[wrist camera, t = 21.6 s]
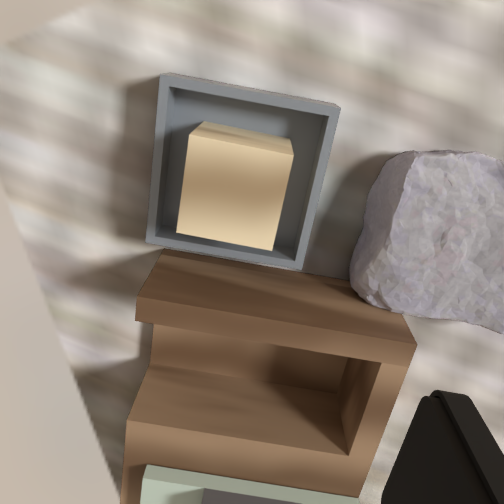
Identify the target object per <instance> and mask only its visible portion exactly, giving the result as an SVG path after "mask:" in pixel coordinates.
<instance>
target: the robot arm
mask: <svg viewBox="0 0 504 504" xmlns="http://www.w3.org/2000/svg"><path fill="white" fill-rule="evenodd" d="M381 504H504V455H503V453H502V451H501V449H500V448H499V446H498V444H497V443H496V441H495V439H494V438H493V436H492V434H491V432H490V431H489V429H488V427H487V426H486V424H485V422H484V421H483V419H482V417H481V415H480V414H479V412H478V410H477V409H476V407H475V405H474V404H473V402H472V400H471V399H470V398H469V397H468V396H466V395H464V394H458V393H452V392H446V391H440V390H435V391H433V392H432V393H431V395H430V396H424V397H423V398H422V399H421V401H420V403H419V405H418V407H417V410H416V412H415V415H414V417H413V420H412V422H411V425H410V427H409V429H408V432H407V434H406V437H405V439H404V442H403V444H402V446H401V449H400V451H399V454H398V456H397V459H396V461H395V463H394V466H393V468H392V471H391V473H390V476H389V478H388V480H387V483H386V485H385V488H384V490H383V493H382V498H381Z"/></svg>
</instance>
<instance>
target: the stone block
mask: <svg viewBox="0 0 504 504" xmlns="http://www.w3.org/2000/svg"><path fill="white" fill-rule="evenodd" d="M363 221H364V227H363V229H362V232H361V235H360V237H359V238H358V242H357V243H356V246H355V249H354V252H353V255H352V259H351V263H350V267H349V269H350V271H349V275H350V283H351V287H352V288H353V289H354V290H355V291H356V292H357V293H358V295H359V297H361V298H363V299H364V300H365V301H366V302H368V303H369V304H370V305H373V306H376V307H380V308H383V309H386V310H389V311H391V312H395V313H400V314H405V315H413V316H417V317H425V318H433V319H452V320H459V321H463V322H467V323H470V324H473V325H480V326H482V327H485V328H487V329H490V330H492V331H495V332H497V333H500V334H504V162H503V161H501V160H497V159H495V158H492V157H490V156H487V155H485V154H482V153H478V152H461V151H452V150H443V151H435V152H419V151H414V150H413V151H407V152H403V153H401V154H398V155H396V156H395V157H393V158H391V159H389V160H387V161H386V163H385V165H384V166H383V167H382V169H381V172H380V174H379V176H378V177H377V179H376V181H375V182H374V184H373V185H372V187H371V189H370V191H369V193H368V195H367V202H366V210H365V214H364V215H363Z"/></svg>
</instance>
